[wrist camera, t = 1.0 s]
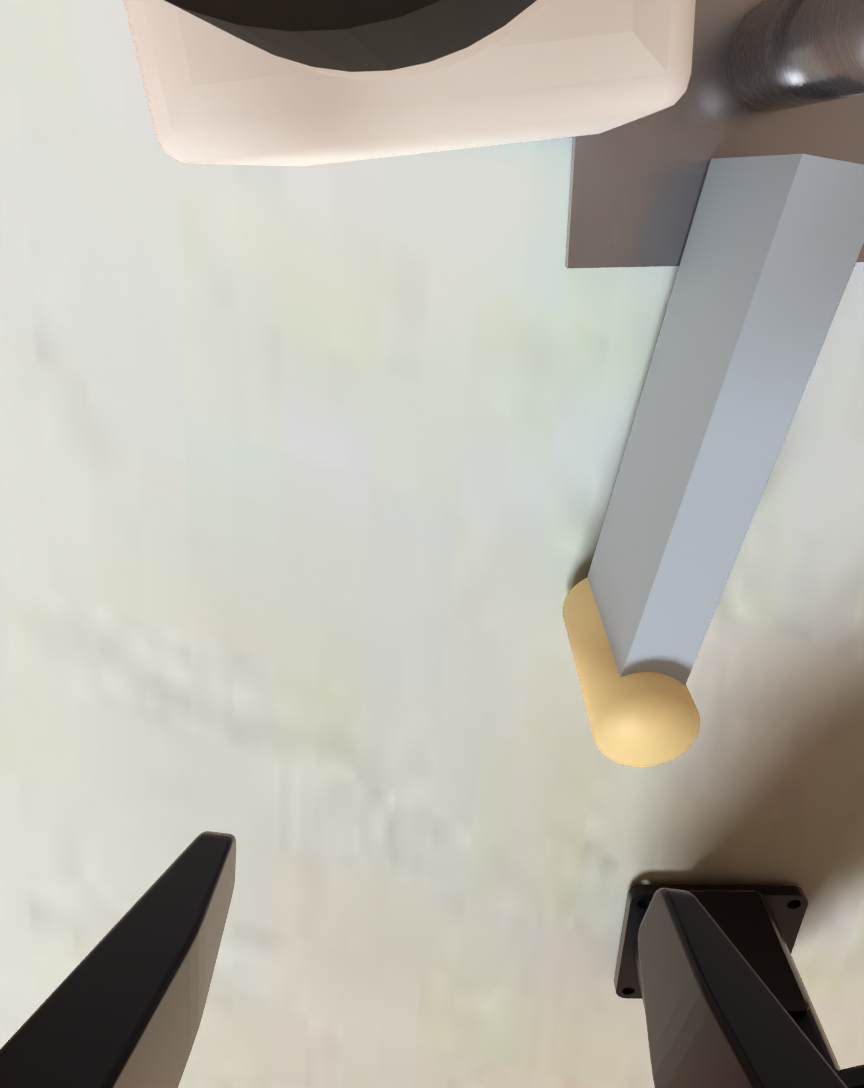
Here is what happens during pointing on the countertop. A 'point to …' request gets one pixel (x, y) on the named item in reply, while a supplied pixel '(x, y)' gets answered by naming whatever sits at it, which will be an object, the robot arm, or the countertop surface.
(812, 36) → the peg on base plate
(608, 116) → the medicine bottle
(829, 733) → the countertop surface
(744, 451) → the gate
